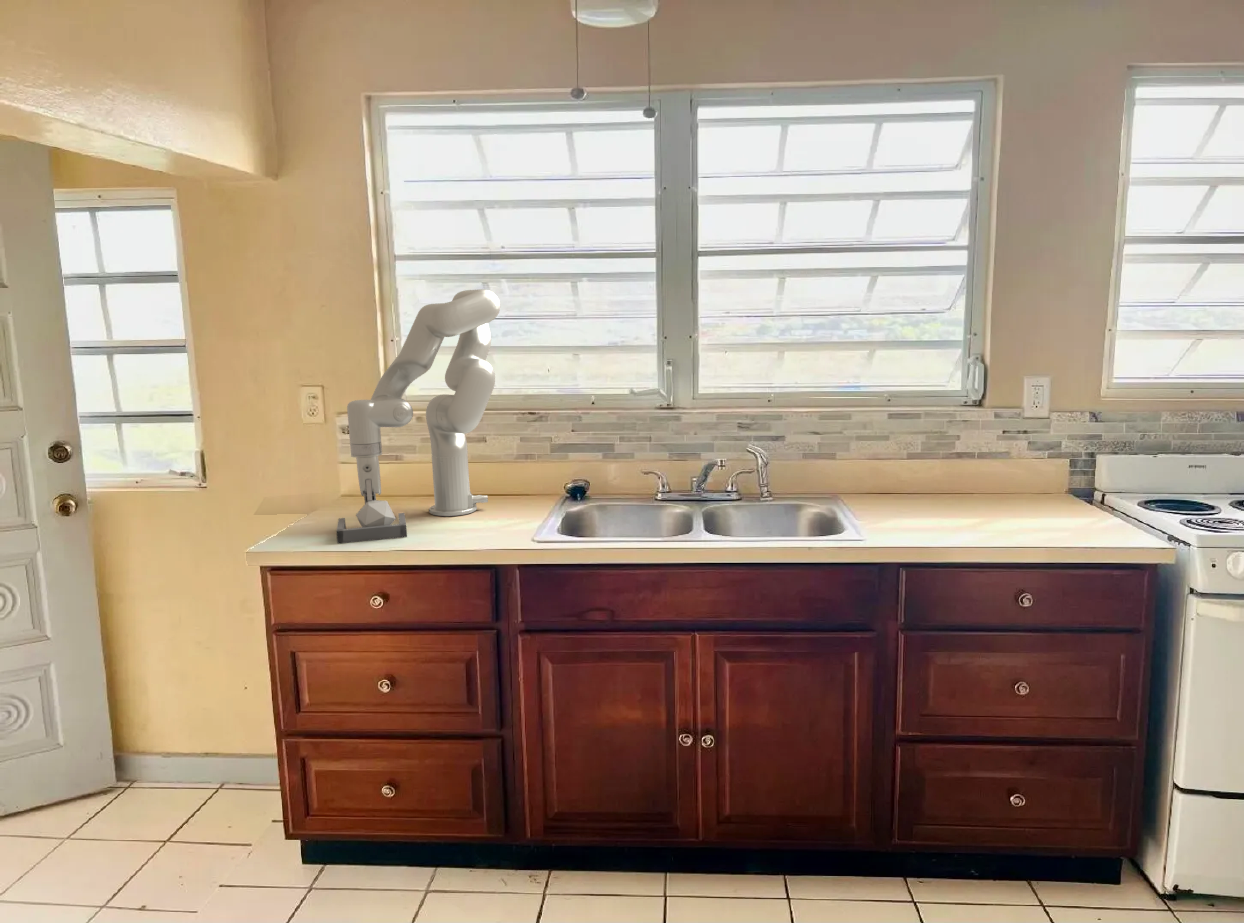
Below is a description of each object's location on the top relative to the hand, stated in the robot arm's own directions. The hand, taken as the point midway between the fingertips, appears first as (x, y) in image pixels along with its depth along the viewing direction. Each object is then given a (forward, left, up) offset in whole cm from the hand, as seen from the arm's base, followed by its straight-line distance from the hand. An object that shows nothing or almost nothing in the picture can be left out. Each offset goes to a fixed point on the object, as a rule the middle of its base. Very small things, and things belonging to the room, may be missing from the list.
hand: (371, 520), depth 213 cm
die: (-1, +6, -2) cm, 7 cm away
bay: (0, +7, -2) cm, 8 cm away
